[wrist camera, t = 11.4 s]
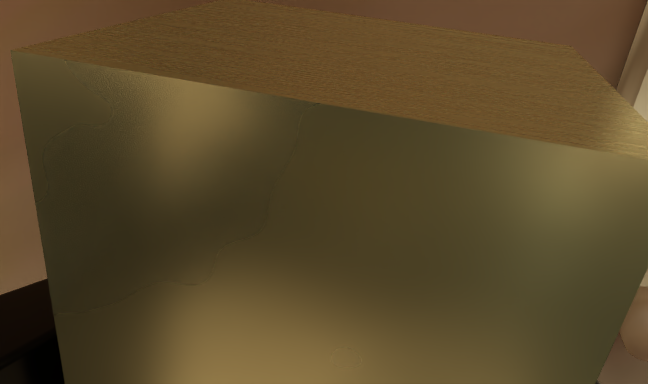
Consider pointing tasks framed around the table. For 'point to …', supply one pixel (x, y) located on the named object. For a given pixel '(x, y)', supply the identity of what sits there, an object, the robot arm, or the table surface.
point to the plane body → (644, 96)
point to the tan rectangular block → (330, 201)
